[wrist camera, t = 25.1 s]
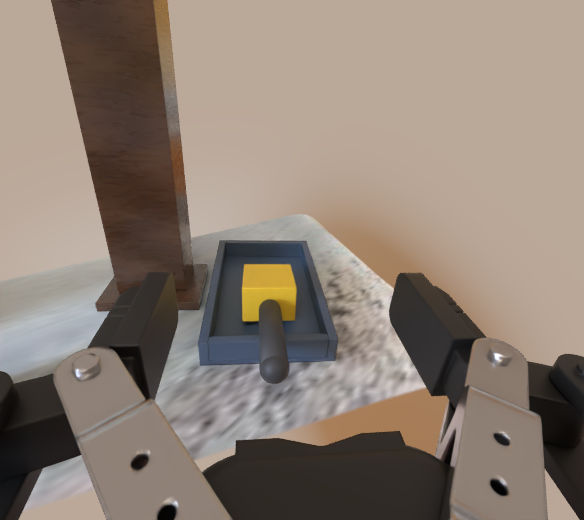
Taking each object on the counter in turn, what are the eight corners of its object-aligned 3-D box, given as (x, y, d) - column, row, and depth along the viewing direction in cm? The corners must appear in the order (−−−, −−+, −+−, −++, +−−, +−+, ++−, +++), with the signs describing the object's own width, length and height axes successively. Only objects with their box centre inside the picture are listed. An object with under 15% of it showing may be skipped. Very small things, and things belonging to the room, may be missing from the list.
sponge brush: (237, 400, 22) (236, 357, 21) (244, 293, 37) (244, 264, 36) (311, 397, 23) (314, 354, 21) (289, 292, 38) (290, 264, 36)
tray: (200, 365, 28) (197, 343, 27) (220, 256, 45) (219, 240, 44) (334, 360, 29) (338, 339, 28) (305, 256, 47) (306, 240, 45)
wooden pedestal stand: (97, 311, 34) (-31, -153, 19) (124, 271, 41) (47, -90, 26) (198, 309, 35) (156, -130, 20) (208, 271, 42) (181, -75, 27)
